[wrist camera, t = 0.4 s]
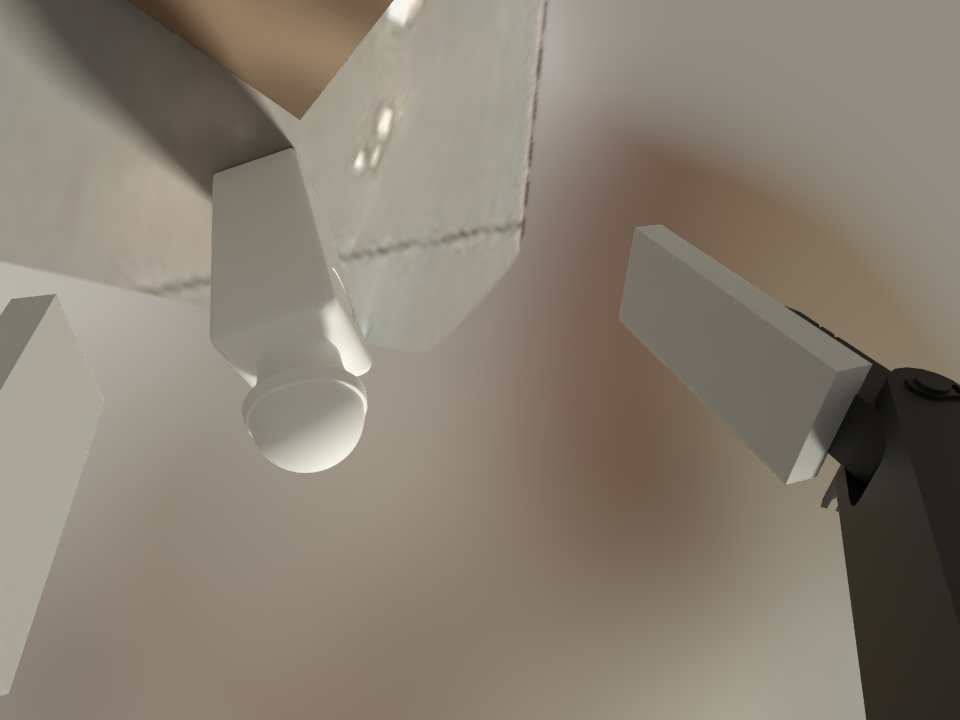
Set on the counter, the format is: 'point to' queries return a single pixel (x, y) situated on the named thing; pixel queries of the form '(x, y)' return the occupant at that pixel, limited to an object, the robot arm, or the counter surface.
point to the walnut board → (273, 40)
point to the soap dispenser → (286, 314)
